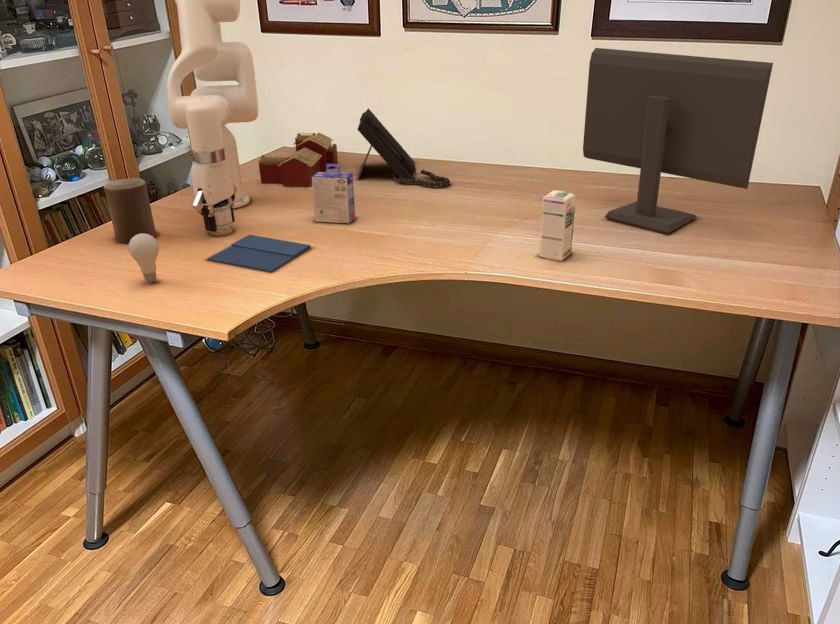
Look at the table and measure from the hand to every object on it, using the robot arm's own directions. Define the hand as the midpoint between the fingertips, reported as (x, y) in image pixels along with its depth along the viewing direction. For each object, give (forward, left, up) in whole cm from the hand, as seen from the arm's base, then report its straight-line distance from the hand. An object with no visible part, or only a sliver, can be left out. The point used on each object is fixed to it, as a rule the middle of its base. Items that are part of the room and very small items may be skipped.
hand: (220, 225), depth 181 cm
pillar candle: (-18, -11, -2) cm, 21 cm away
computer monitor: (+98, +53, -2) cm, 111 cm away
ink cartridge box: (+22, +20, -2) cm, 30 cm away
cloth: (+18, -8, -2) cm, 20 cm away
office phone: (+20, +65, -2) cm, 68 cm away
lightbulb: (+6, -31, -2) cm, 32 cm away
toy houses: (-15, +61, -2) cm, 63 cm away
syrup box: (+82, +19, -2) cm, 84 cm away
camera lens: (0, 0, -2) cm, 2 cm away
